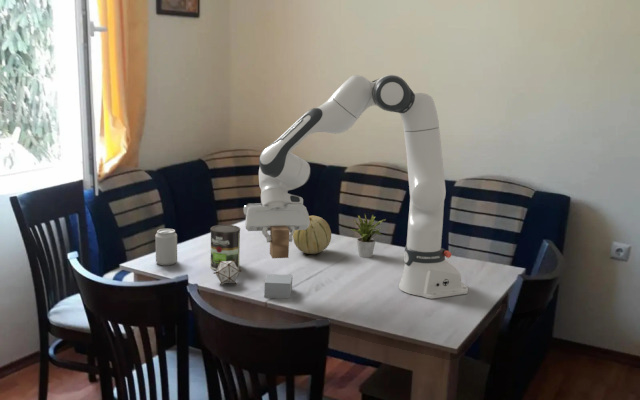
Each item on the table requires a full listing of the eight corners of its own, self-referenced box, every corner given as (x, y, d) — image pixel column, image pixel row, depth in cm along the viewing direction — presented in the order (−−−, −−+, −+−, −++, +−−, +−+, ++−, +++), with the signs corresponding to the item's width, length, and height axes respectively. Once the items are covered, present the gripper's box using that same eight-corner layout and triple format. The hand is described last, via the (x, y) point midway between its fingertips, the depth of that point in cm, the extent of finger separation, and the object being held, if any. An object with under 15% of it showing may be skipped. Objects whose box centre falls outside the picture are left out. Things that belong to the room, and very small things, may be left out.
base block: (291, 289, 206) (292, 275, 205) (290, 298, 198) (290, 283, 197) (267, 288, 206) (267, 274, 205) (264, 297, 199) (264, 282, 198)
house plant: (383, 263, 235) (386, 220, 232) (346, 260, 237) (348, 218, 234) (385, 252, 249) (388, 211, 246) (350, 249, 251) (352, 209, 248)
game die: (230, 296, 209) (234, 278, 201) (207, 284, 209) (210, 267, 202) (243, 276, 215) (247, 259, 207) (220, 265, 215) (224, 247, 208)
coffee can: (232, 273, 219) (232, 233, 216) (205, 269, 222) (205, 230, 219) (244, 264, 229) (245, 226, 226) (218, 260, 232) (218, 223, 229)
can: (151, 264, 225) (151, 232, 222) (162, 258, 232) (161, 226, 229) (171, 267, 223) (170, 234, 220) (181, 260, 230) (180, 228, 227)
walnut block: (285, 252, 203) (286, 225, 201) (288, 257, 198) (289, 229, 196) (269, 253, 202) (270, 225, 200) (272, 258, 197) (273, 230, 195)
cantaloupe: (332, 248, 252) (333, 211, 248) (328, 260, 237) (330, 221, 234) (294, 246, 253) (296, 209, 250) (289, 257, 239) (290, 218, 235)
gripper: (243, 198, 200) (247, 237, 193) (307, 197, 205) (313, 235, 198) (241, 209, 205) (245, 247, 198) (304, 208, 210) (309, 245, 203)
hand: (279, 241), depth 198 cm, fingers closed on walnut block, 5 cm apart
